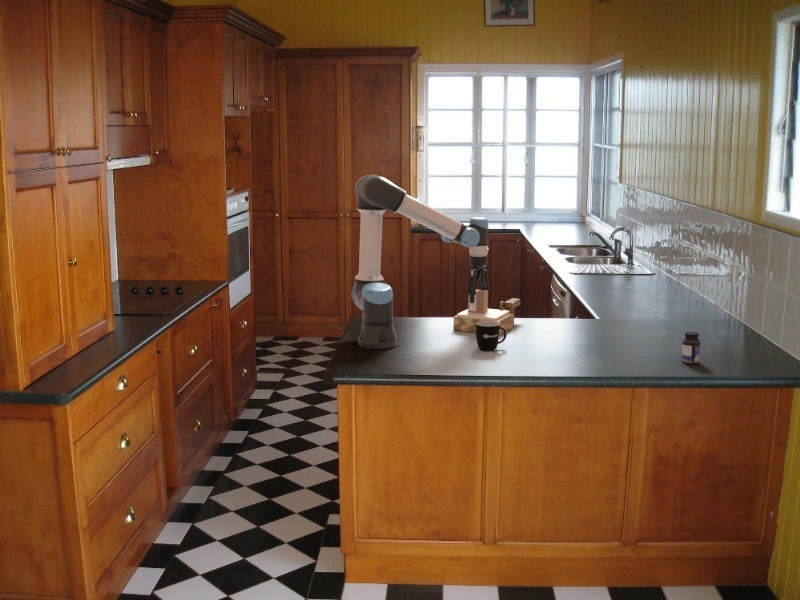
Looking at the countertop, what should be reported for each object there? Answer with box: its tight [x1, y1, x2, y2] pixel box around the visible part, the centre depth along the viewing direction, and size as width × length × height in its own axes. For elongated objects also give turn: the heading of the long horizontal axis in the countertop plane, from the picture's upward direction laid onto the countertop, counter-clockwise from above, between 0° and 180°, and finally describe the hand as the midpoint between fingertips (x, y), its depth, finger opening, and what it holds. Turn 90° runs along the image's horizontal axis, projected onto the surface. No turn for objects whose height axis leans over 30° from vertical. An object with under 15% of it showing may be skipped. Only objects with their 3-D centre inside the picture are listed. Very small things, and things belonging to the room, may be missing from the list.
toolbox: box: [452, 300, 515, 337], centre depth 369 cm, size 20×18×10 cm
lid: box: [456, 289, 509, 321], centre depth 367 cm, size 17×16×11 cm
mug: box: [475, 321, 507, 352], centre depth 336 cm, size 12×9×10 cm
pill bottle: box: [681, 330, 701, 365], centre depth 316 cm, size 6×6×11 cm
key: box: [503, 297, 521, 310], centre depth 378 cm, size 4×11×2 cm, turn 153°
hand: (477, 307), depth 368 cm, fingers open, 10 cm apart
